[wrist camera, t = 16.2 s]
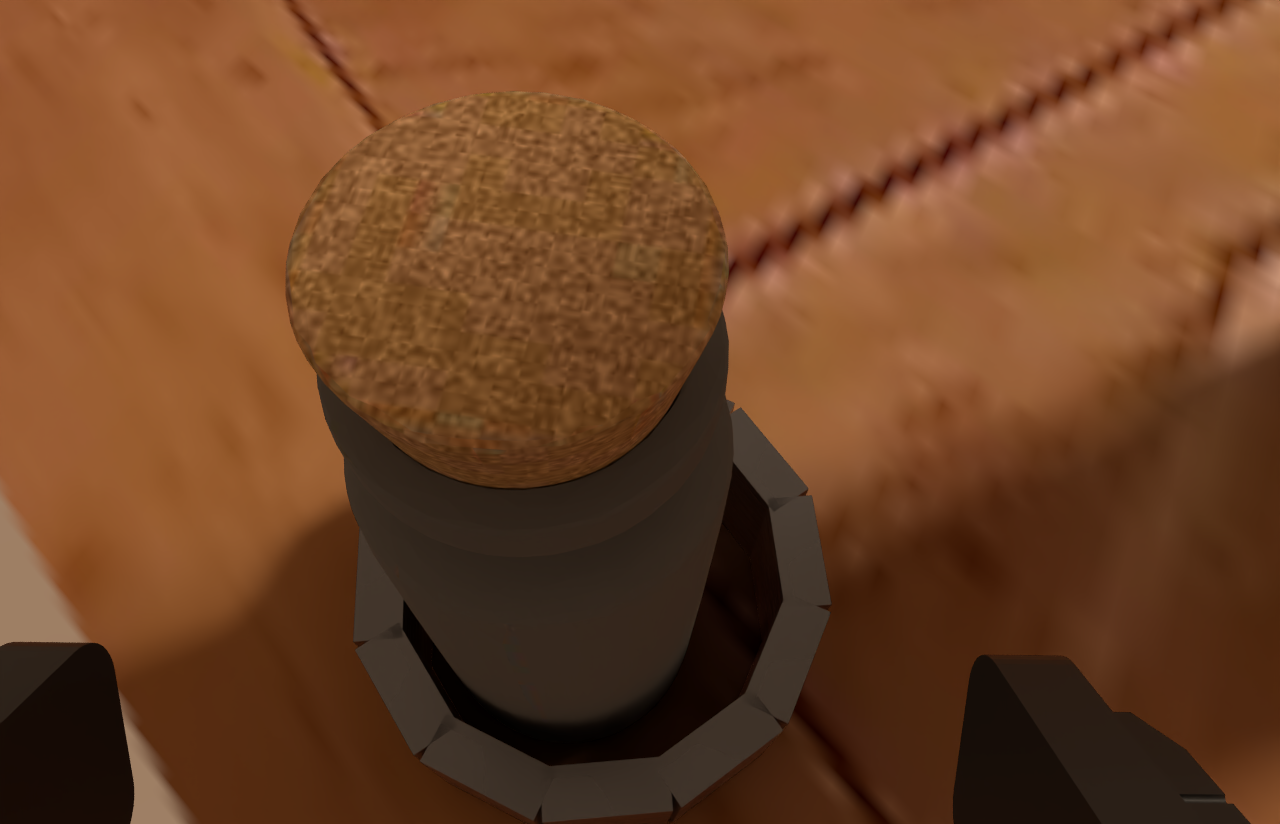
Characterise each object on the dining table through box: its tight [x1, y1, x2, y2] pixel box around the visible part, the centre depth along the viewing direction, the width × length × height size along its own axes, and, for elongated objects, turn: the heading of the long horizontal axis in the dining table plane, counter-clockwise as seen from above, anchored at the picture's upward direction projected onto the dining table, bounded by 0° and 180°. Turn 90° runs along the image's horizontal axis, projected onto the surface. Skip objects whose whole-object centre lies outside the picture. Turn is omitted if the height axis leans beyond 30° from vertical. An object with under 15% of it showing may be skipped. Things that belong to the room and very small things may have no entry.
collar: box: [353, 400, 831, 824], centre depth 22 cm, size 10×10×4 cm
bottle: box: [286, 91, 734, 743], centre depth 17 cm, size 6×6×15 cm
